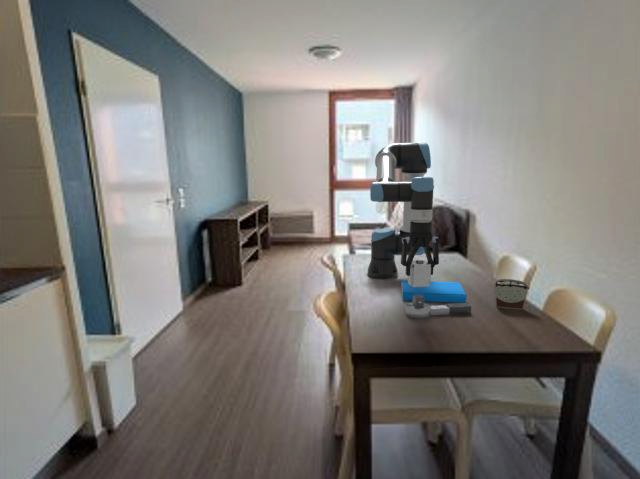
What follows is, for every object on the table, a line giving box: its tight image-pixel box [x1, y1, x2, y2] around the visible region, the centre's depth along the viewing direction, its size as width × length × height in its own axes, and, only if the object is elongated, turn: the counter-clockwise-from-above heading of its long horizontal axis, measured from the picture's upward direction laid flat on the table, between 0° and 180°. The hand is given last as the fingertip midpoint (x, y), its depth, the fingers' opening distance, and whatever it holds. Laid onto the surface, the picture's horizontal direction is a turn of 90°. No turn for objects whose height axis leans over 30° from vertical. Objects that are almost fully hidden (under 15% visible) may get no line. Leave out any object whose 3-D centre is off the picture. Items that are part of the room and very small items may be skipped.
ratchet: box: [405, 295, 472, 320], centre depth 142 cm, size 9×24×7 cm, turn 95°
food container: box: [493, 278, 530, 311], centre depth 149 cm, size 12×6×10 cm, turn 71°
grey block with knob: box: [411, 259, 431, 287], centre depth 139 cm, size 6×6×9 cm
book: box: [401, 279, 467, 303], centre depth 163 cm, size 17×4×25 cm
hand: (419, 283), depth 140 cm, fingers closed on grey block with knob, 6 cm apart
